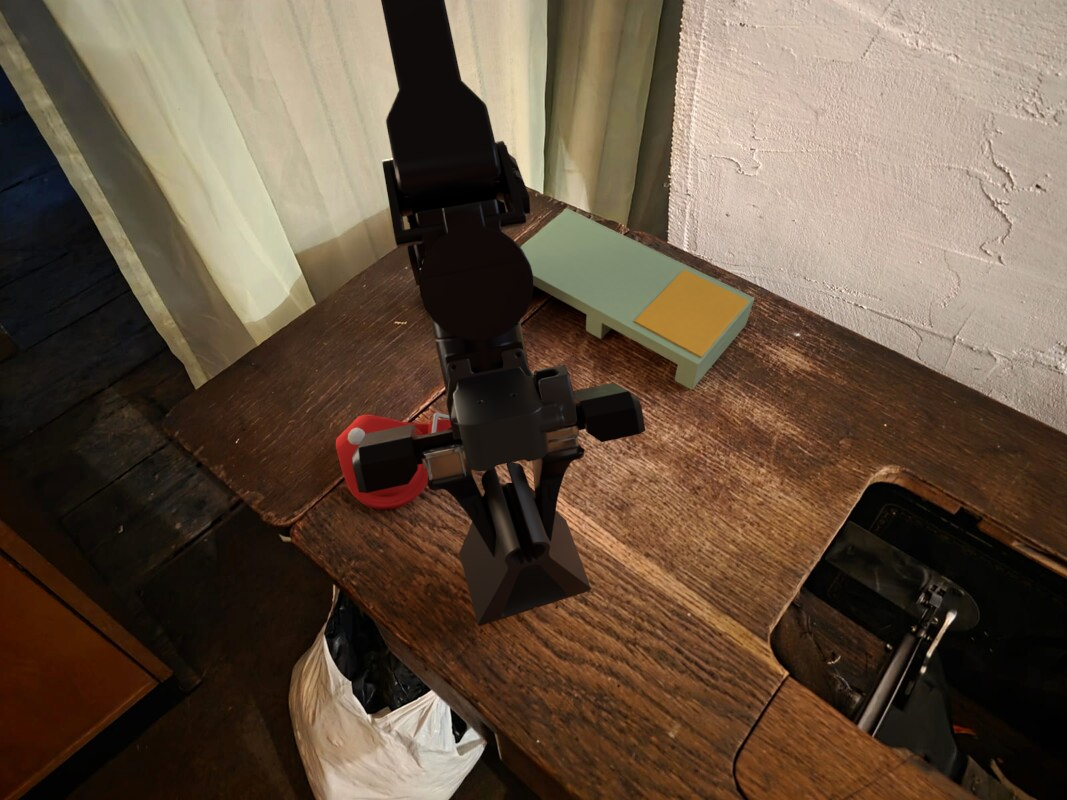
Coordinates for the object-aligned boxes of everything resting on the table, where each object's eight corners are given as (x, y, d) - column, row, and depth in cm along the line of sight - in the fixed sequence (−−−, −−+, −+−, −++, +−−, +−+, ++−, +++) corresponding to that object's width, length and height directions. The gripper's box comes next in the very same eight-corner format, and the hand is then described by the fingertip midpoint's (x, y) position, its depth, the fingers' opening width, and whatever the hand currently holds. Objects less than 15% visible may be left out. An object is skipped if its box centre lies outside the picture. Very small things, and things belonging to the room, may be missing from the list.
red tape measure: (388, 529, 57) (306, 454, 59) (398, 534, 62) (322, 464, 63) (483, 425, 60) (402, 356, 62) (486, 437, 64) (411, 372, 66)
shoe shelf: (507, 286, 76) (504, 258, 72) (566, 235, 81) (566, 206, 77) (691, 390, 66) (698, 363, 63) (746, 324, 71) (755, 296, 68)
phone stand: (566, 522, 55) (565, 445, 45) (591, 591, 51) (595, 524, 42) (459, 554, 54) (434, 482, 44) (477, 626, 50) (454, 566, 40)
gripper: (310, 372, 35) (377, 644, 38) (652, 305, 37) (692, 568, 40) (341, 355, 46) (391, 566, 49) (604, 304, 48) (638, 510, 51)
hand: (522, 553), depth 46 cm, fingers closed on phone stand, 3 cm apart
